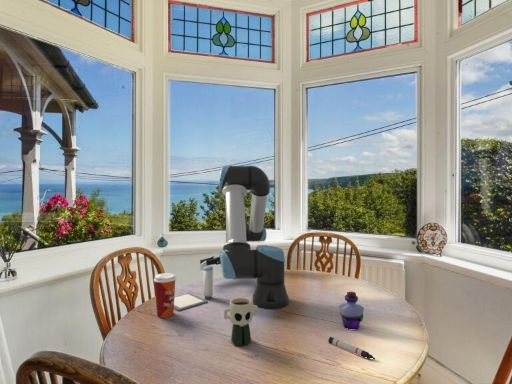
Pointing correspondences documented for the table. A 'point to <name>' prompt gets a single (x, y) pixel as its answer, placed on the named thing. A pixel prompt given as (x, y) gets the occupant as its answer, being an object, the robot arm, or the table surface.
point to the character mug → (240, 319)
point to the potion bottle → (351, 311)
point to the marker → (349, 347)
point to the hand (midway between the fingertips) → (214, 268)
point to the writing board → (187, 301)
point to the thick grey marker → (208, 282)
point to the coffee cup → (165, 294)
